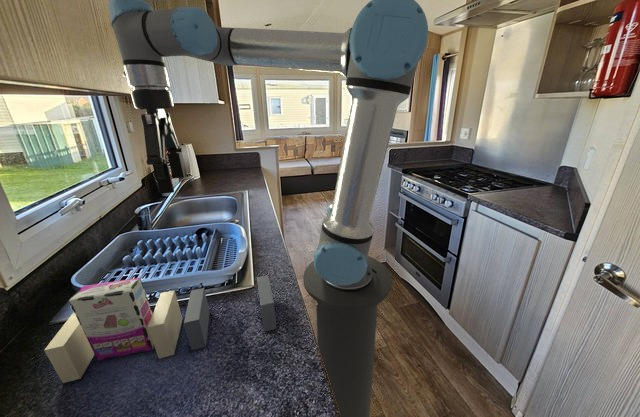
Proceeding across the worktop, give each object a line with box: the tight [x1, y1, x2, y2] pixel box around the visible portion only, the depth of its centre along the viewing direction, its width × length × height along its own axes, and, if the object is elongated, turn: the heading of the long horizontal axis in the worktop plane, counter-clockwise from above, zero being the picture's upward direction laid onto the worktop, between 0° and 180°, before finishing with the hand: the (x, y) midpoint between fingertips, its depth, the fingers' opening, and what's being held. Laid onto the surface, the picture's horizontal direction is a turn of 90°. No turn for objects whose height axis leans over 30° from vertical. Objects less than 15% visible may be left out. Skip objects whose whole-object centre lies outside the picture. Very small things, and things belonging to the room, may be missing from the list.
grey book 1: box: [183, 287, 211, 351], centre depth 62 cm, size 3×11×8 cm, turn 17°
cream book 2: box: [148, 289, 184, 359], centre depth 60 cm, size 3×11×9 cm, turn 17°
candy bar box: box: [68, 277, 155, 361], centre depth 56 cm, size 11×5×16 cm, turn 102°
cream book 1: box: [43, 311, 95, 384], centre depth 55 cm, size 3×11×9 cm, turn 17°
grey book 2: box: [256, 274, 278, 332], centre depth 66 cm, size 3×11×8 cm, turn 17°
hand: (173, 184), depth 64 cm, fingers open, 13 cm apart
